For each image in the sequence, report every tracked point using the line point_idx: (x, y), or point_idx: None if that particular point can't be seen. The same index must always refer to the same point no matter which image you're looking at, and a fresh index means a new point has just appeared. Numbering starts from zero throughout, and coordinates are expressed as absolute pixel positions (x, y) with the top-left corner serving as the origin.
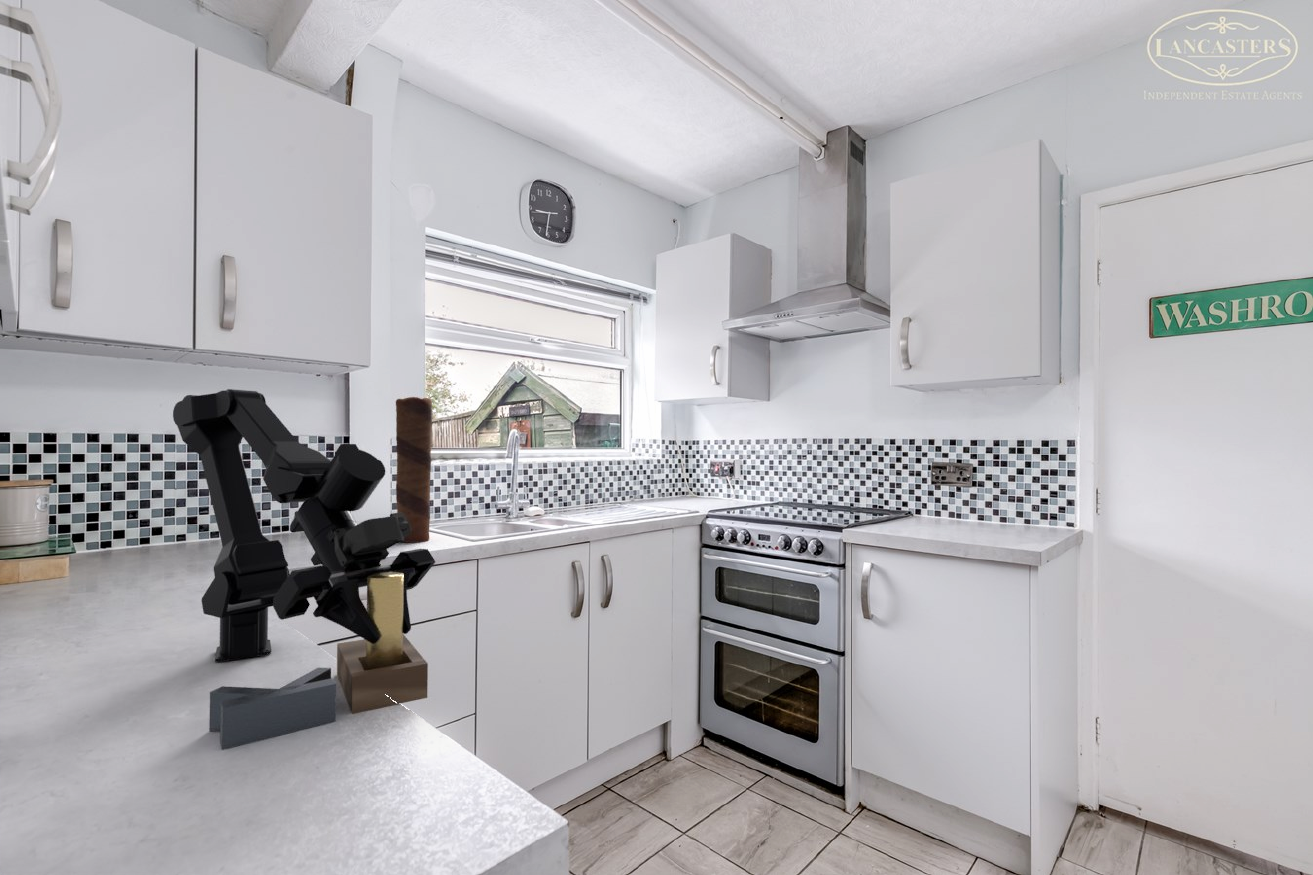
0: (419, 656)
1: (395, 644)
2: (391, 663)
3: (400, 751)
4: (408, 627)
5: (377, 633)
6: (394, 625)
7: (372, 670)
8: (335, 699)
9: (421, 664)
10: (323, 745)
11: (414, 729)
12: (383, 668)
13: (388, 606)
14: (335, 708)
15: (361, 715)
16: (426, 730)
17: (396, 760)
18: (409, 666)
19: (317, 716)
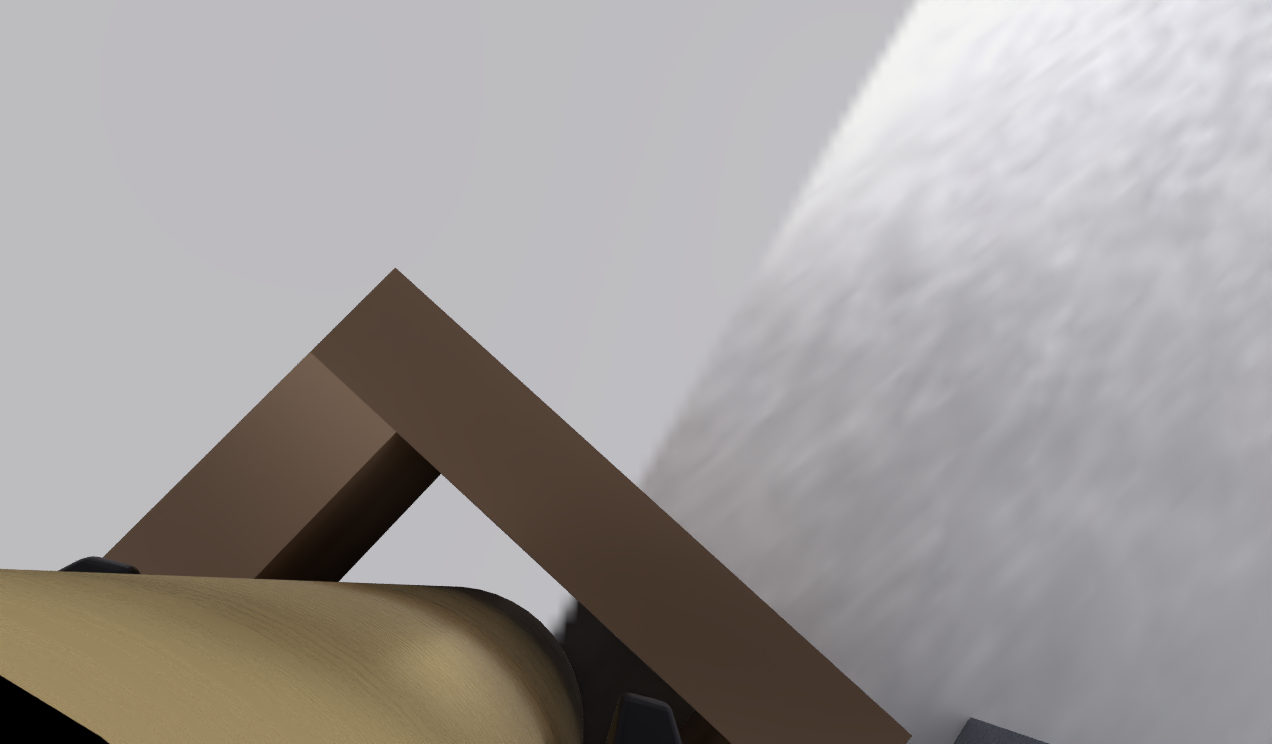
0: (222, 469)
1: (424, 592)
2: (491, 609)
3: (1145, 52)
4: (126, 567)
5: (632, 733)
6: (396, 600)
7: (709, 666)
8: (1038, 741)
9: (431, 310)
10: (1255, 524)
11: (897, 137)
12: (627, 599)
13: (439, 680)
14: (1007, 731)
15: (831, 609)
16: (885, 63)
17: (1229, 14)
18: (511, 386)
19: None
